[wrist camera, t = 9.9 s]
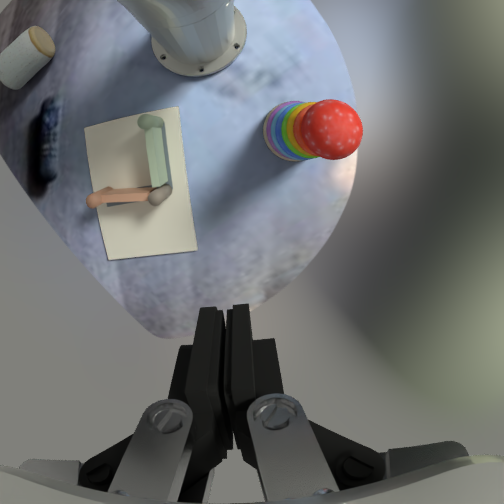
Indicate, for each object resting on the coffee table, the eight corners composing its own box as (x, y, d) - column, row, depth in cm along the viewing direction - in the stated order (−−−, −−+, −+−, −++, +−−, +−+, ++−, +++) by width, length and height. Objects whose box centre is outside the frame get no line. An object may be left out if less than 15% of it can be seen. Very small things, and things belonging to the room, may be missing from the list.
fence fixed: (149, 118, 36) (136, 115, 30) (162, 115, 36) (151, 112, 30) (158, 182, 39) (146, 189, 34) (171, 180, 39) (160, 187, 34)
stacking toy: (277, 169, 40) (307, 196, 22) (252, 115, 37) (264, 96, 20) (330, 148, 39) (396, 160, 21) (307, 94, 36) (360, 65, 19)
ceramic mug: (63, 58, 31) (36, 48, 24) (27, 92, 33) (-3, 89, 25) (46, 17, 28) (20, 5, 21) (12, 50, 29) (-15, 43, 22)
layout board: (86, 128, 36) (84, 128, 35) (178, 106, 36) (177, 106, 35) (110, 258, 43) (108, 260, 43) (197, 248, 43) (197, 250, 43)
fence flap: (172, 183, 39) (162, 190, 34) (172, 196, 40) (162, 206, 34) (102, 186, 39) (85, 194, 33) (103, 199, 39) (86, 208, 34)
